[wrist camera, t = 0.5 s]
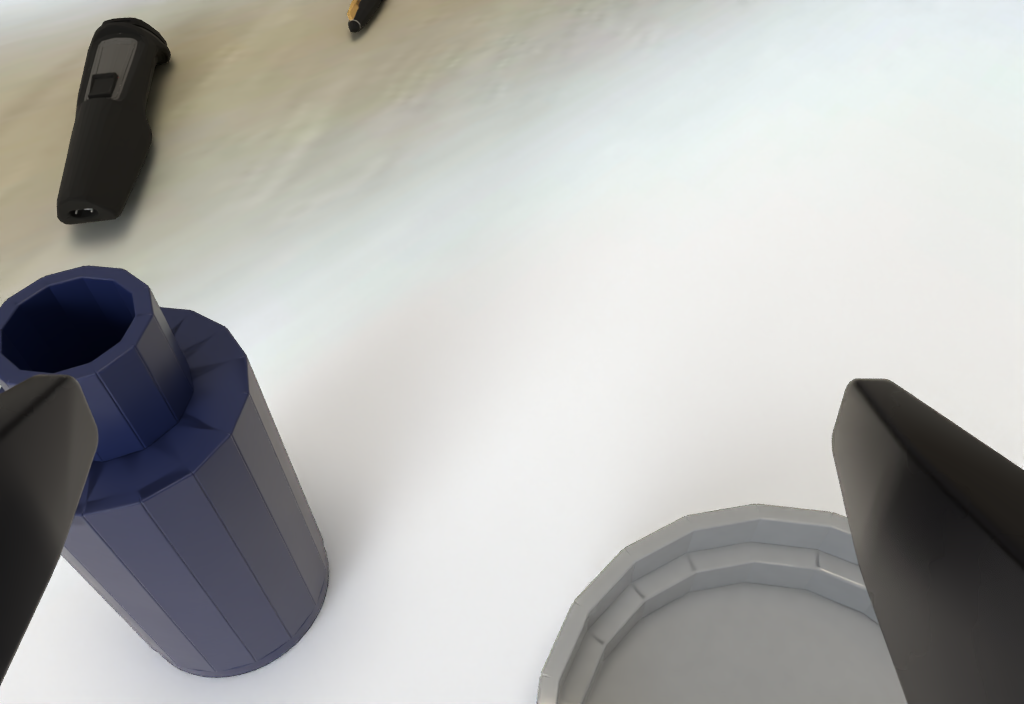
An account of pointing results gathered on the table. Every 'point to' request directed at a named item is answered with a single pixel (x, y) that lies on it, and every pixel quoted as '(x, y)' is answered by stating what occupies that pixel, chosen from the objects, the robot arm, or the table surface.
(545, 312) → the table surface
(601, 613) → the steel dish
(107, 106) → the electric trimmer
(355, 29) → the fountain pen
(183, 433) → the dark blue vase
